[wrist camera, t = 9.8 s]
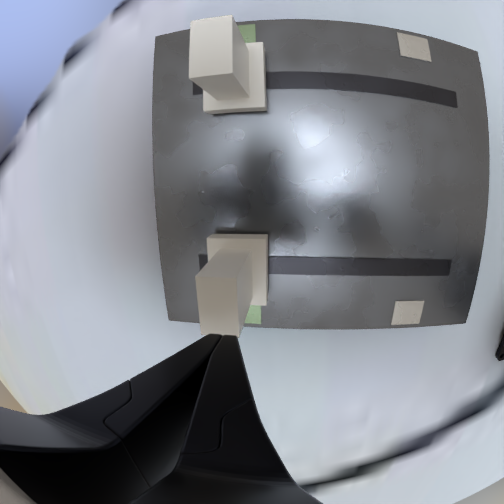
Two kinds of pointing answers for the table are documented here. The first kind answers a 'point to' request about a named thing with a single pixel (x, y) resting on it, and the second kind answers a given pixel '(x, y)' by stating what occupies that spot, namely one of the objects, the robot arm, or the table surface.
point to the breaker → (226, 67)
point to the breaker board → (330, 175)
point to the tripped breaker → (232, 281)
